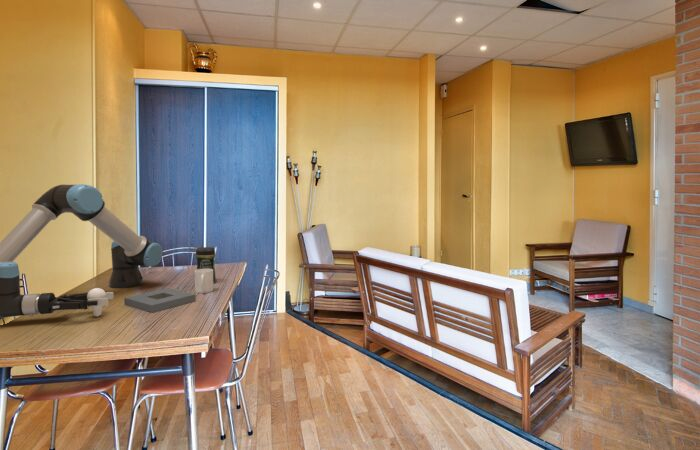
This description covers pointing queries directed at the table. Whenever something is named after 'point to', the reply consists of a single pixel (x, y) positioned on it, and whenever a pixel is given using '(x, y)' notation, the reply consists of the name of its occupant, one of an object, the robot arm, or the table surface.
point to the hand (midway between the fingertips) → (110, 298)
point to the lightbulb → (96, 294)
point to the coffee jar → (206, 259)
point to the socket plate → (159, 300)
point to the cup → (204, 280)
